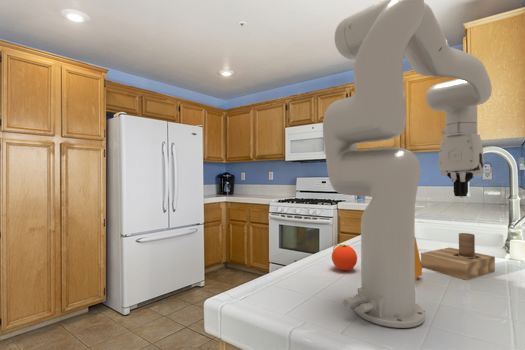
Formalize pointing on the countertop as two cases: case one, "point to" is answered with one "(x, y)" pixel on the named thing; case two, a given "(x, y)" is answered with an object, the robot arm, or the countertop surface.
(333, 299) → the countertop surface
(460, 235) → the peg
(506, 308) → the countertop surface
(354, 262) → the clementine
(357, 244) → the countertop surface
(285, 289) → the countertop surface
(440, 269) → the board
